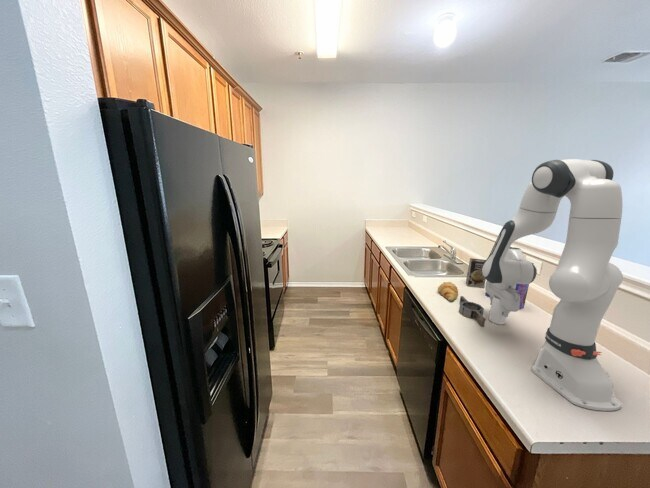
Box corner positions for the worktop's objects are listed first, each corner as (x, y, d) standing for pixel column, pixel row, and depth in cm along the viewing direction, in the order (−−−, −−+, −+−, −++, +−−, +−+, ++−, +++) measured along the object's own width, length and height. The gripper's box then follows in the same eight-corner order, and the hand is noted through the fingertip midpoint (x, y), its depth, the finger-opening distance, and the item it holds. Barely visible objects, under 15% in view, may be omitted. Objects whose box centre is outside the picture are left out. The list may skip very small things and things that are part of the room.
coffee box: (467, 286, 162) (471, 260, 158) (465, 282, 168) (469, 257, 164) (484, 288, 160) (489, 262, 156) (481, 284, 166) (486, 259, 161)
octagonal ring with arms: (493, 327, 119) (495, 319, 118) (471, 326, 119) (473, 318, 118) (475, 309, 134) (477, 302, 133) (456, 308, 135) (457, 301, 134)
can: (488, 322, 122) (493, 298, 119) (488, 316, 128) (492, 292, 125) (505, 326, 119) (511, 301, 116) (504, 319, 125) (509, 295, 122)
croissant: (456, 309, 142) (466, 297, 139) (439, 299, 142) (448, 287, 139) (448, 292, 161) (456, 281, 159) (433, 283, 162) (441, 272, 159)
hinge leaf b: (485, 319, 125) (487, 311, 124) (464, 318, 126) (466, 310, 125) (469, 303, 140) (471, 296, 139) (451, 302, 141) (452, 295, 140)
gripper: (527, 292, 109) (520, 323, 112) (498, 274, 129) (493, 300, 132) (511, 292, 109) (504, 322, 113) (484, 273, 129) (480, 300, 132)
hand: (498, 310), depth 122 cm, fingers open, 8 cm apart
